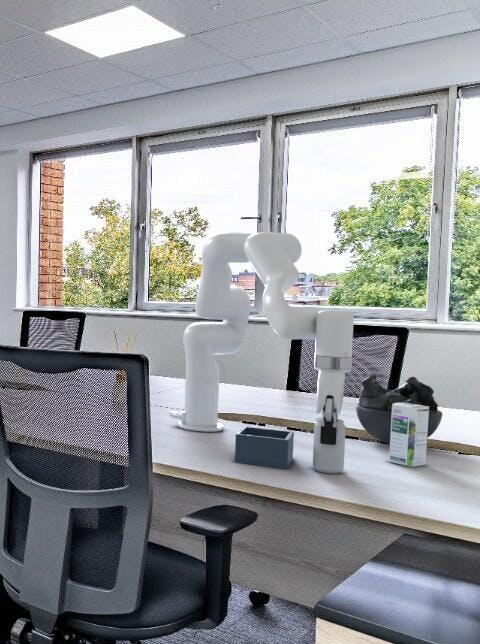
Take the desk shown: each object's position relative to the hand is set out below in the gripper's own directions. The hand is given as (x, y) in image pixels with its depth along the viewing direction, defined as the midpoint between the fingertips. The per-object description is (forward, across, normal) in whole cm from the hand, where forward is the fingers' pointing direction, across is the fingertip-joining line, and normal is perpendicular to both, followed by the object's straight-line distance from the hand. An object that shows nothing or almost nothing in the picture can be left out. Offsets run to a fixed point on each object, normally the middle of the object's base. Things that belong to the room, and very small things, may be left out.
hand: (329, 440), depth 160 cm
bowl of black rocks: (+7, -42, +14) cm, 45 cm away
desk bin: (+7, -2, -14) cm, 16 cm away
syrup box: (+7, -19, +16) cm, 26 cm away
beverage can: (+7, 0, 0) cm, 7 cm away
